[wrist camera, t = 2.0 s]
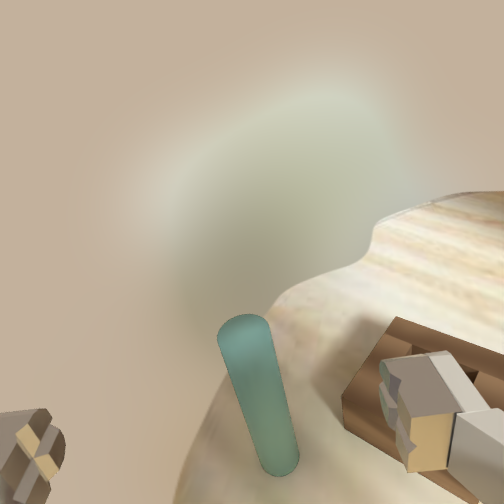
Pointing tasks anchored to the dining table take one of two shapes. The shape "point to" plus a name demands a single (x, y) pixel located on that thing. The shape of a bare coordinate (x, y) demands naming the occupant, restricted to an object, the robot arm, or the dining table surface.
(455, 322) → the dining table surface
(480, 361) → the socket block
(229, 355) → the peg
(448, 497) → the dining table surface
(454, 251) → the dining table surface
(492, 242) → the dining table surface
